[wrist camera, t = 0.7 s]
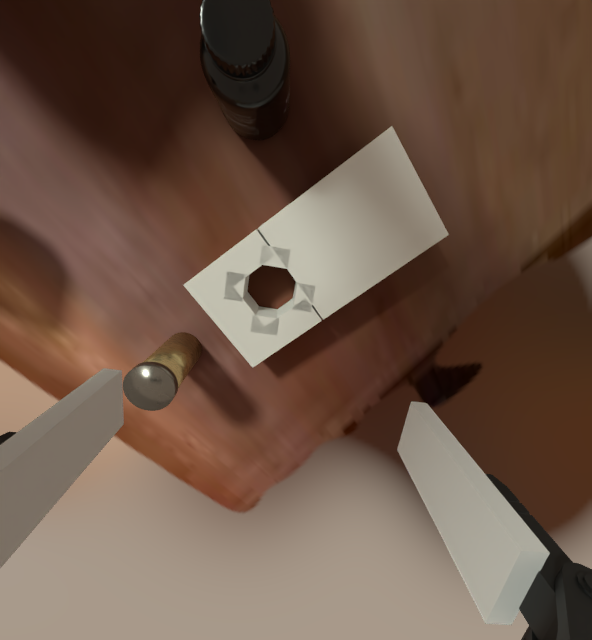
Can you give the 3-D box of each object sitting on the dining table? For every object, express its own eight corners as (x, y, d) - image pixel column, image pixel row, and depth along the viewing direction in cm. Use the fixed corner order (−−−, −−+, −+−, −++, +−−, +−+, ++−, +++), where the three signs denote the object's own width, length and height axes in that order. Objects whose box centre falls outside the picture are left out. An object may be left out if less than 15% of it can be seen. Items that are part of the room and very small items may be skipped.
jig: (194, 279, 35) (183, 285, 31) (378, 139, 31) (391, 125, 27) (256, 353, 38) (252, 367, 34) (430, 234, 34) (448, 234, 30)
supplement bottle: (302, 113, 30) (312, 40, 19) (250, 156, 31) (229, 111, 20) (262, 46, 28) (245, -80, 17) (208, 94, 29) (158, 5, 18)
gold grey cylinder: (157, 344, 37) (112, 384, 27) (185, 323, 36) (149, 356, 27) (182, 372, 38) (147, 419, 29) (210, 352, 37) (184, 393, 28)
